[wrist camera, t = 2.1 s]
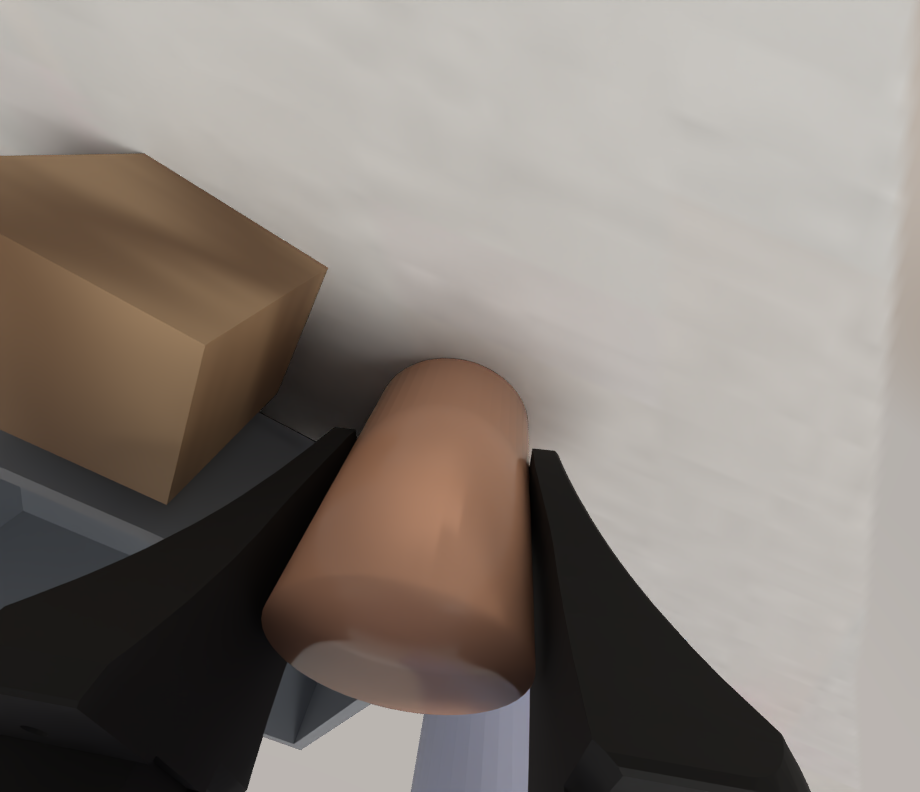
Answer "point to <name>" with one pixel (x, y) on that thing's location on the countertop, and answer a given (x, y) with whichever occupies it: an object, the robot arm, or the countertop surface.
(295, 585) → the terracotta cylinder
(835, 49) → the countertop surface
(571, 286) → the countertop surface
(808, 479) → the countertop surface
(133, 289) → the walnut cube
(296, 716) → the box
